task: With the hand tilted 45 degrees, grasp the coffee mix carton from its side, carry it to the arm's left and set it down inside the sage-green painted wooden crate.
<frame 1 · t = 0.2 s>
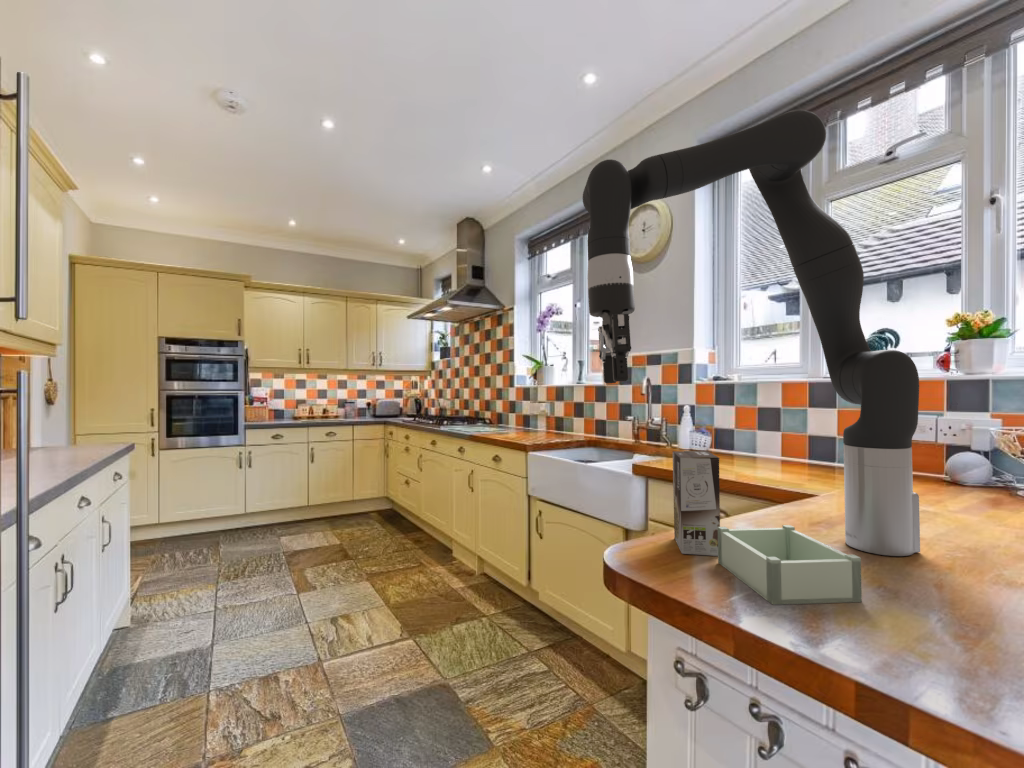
hand: (615, 382, 80), 29 cm above the table, tool pointing down, fingers open, 8 cm apart
crate: (782, 580, 68), on the table
coffee box: (696, 547, 83), on the table
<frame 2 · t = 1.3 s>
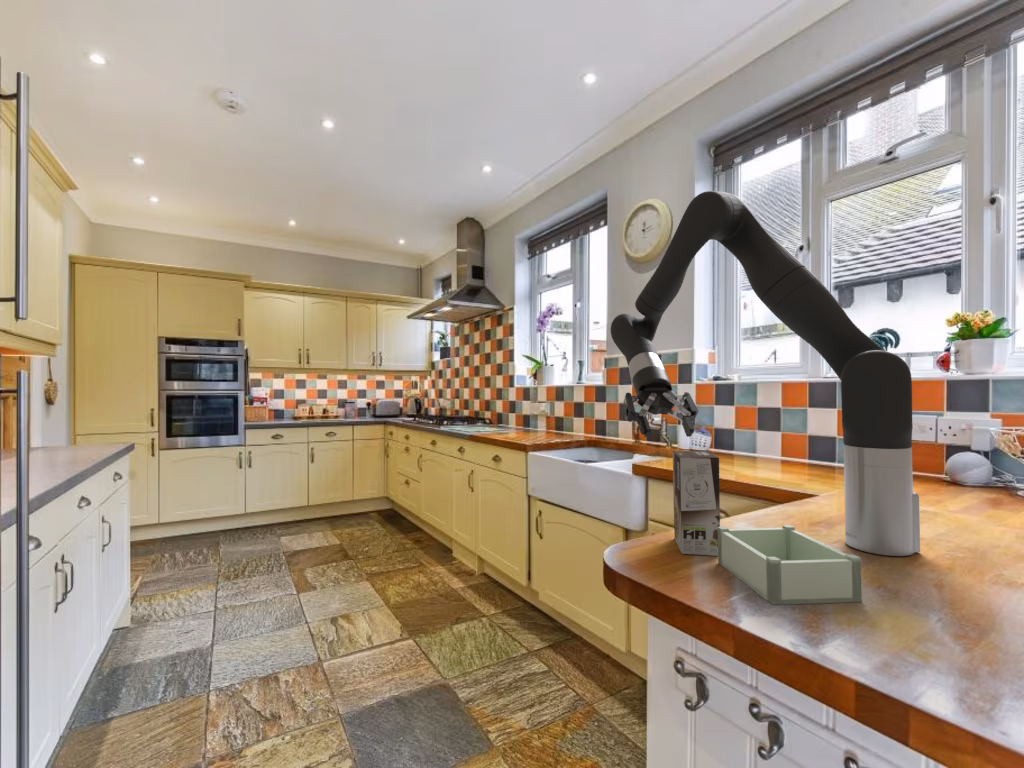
hand: (669, 434, 94), 18 cm above the table, tool tilted 45°, fingers open, 8 cm apart
nothing on the table moved.
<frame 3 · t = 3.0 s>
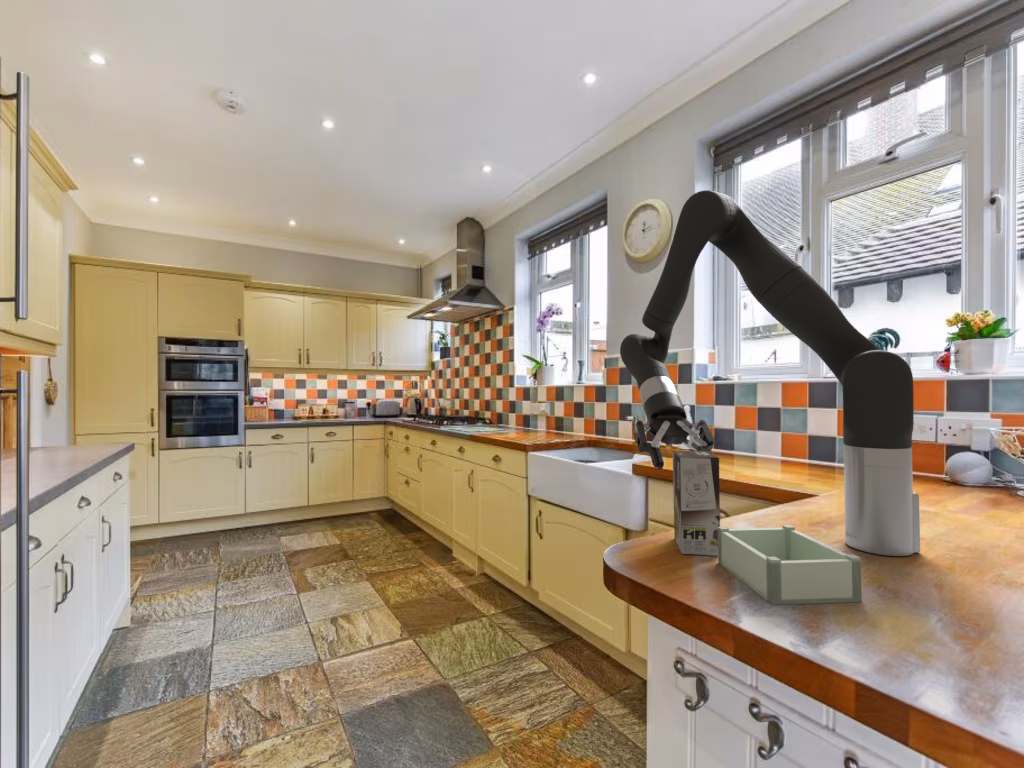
hand: (684, 467, 87), 13 cm above the table, tool tilted 45°, fingers open, 8 cm apart
nothing on the table moved.
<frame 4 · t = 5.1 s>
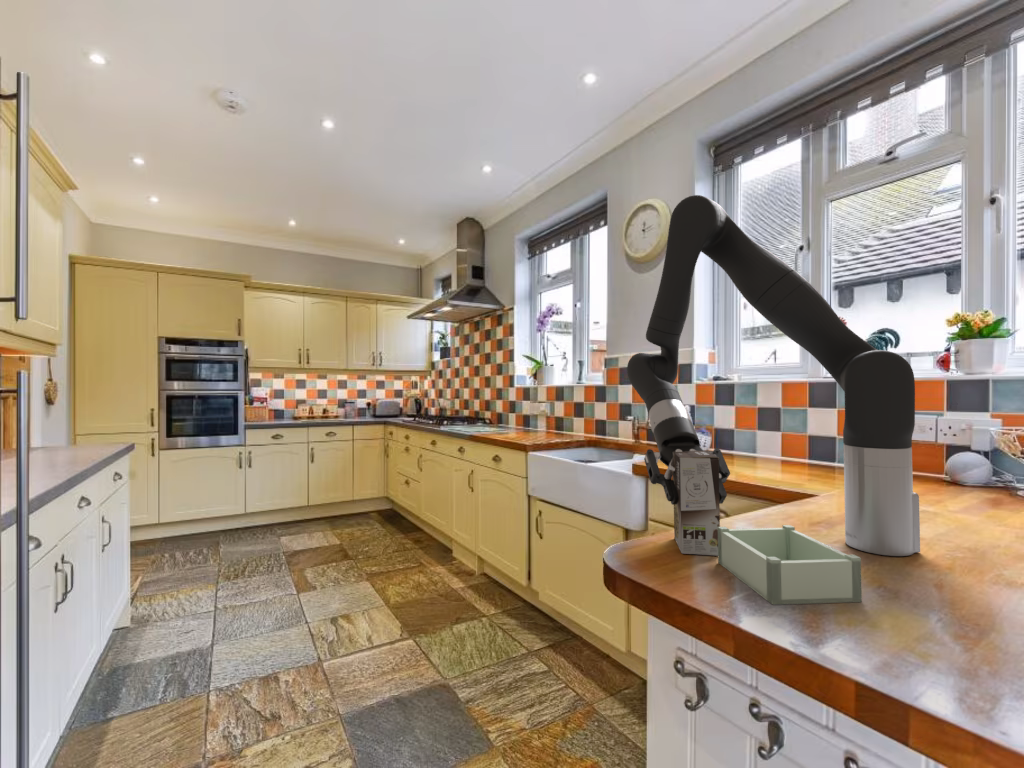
hand: (698, 501, 81), 8 cm above the table, tool tilted 45°, fingers closed on coffee box, 7 cm apart
coffee box: (696, 547, 83), on the table, touching gripper
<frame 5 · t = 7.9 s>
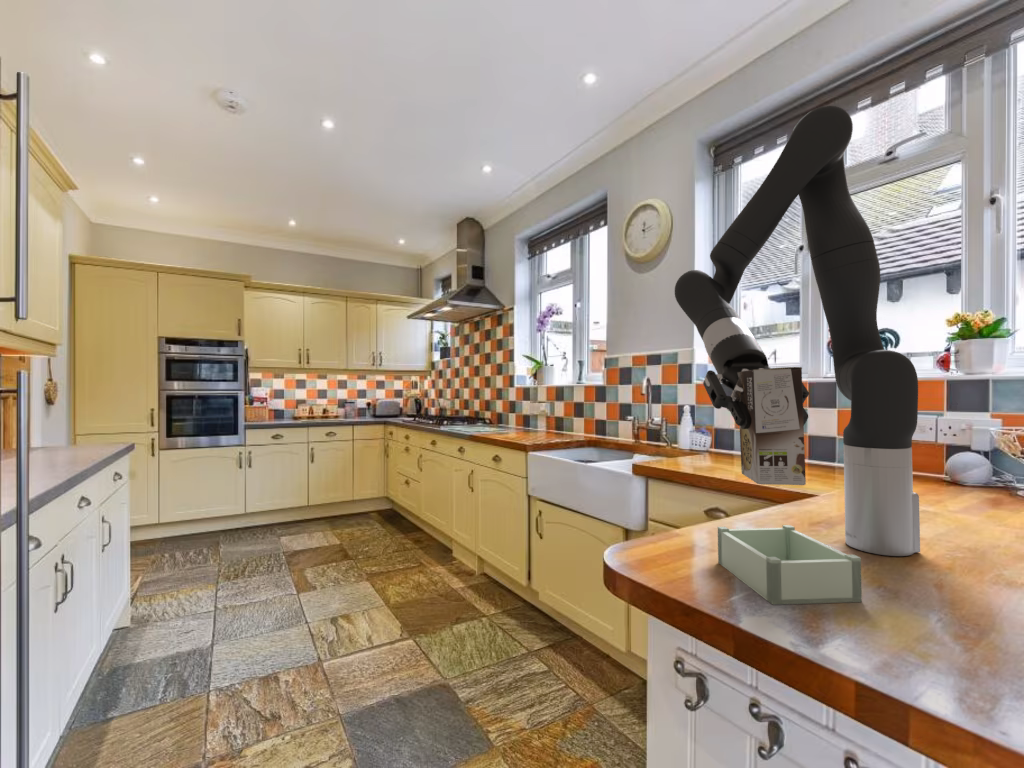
hand: (775, 424, 68), 22 cm above the table, tool tilted 45°, fingers closed on coffee box, 7 cm apart
coffee box: (771, 480, 70), point 14 cm above the table, touching gripper
when the fingers open (9 cm above the table, at t = 11.2 s): coffee box stays where it is, resting on crate.
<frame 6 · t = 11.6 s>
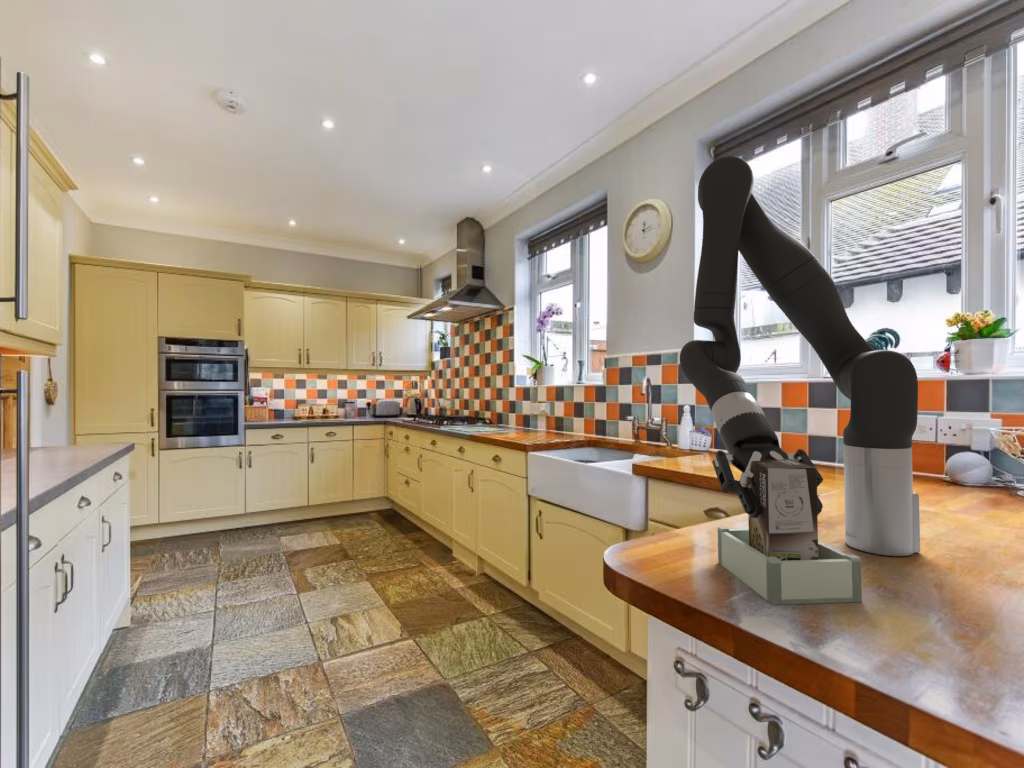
hand: (786, 514, 67), 10 cm above the table, tool tilted 45°, fingers open, 8 cm apart
coffee box: (782, 577, 68), resting on crate
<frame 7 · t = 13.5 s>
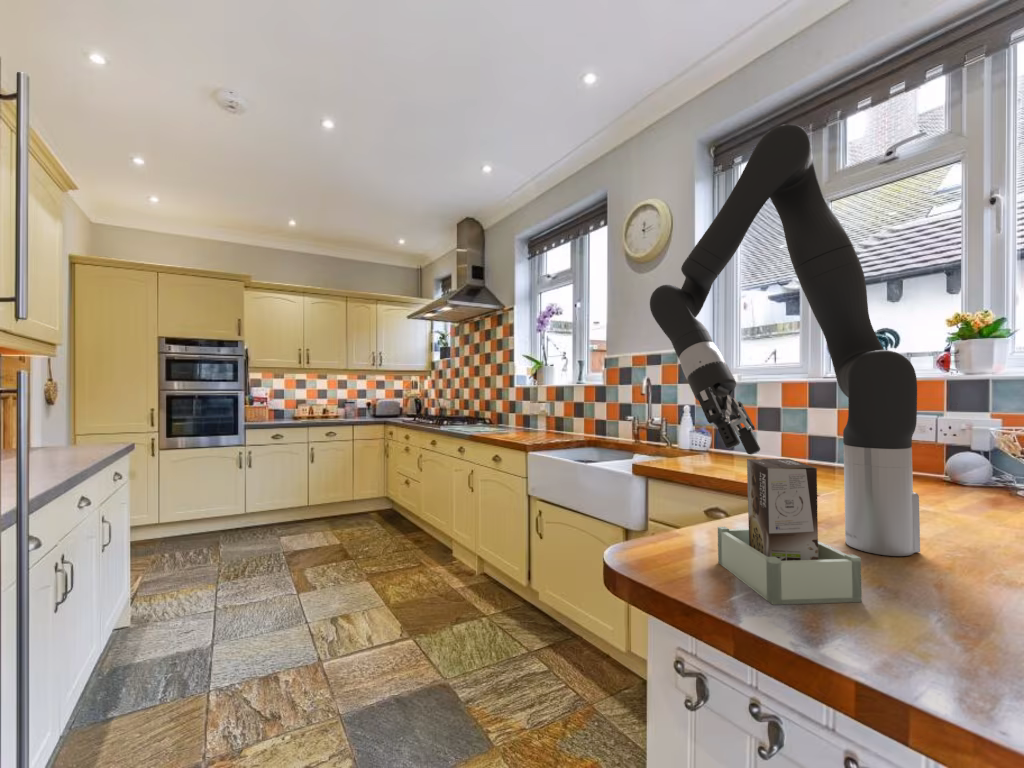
hand: (744, 449, 82), 17 cm above the table, tool tilted 30°, fingers open, 8 cm apart
nothing on the table moved.
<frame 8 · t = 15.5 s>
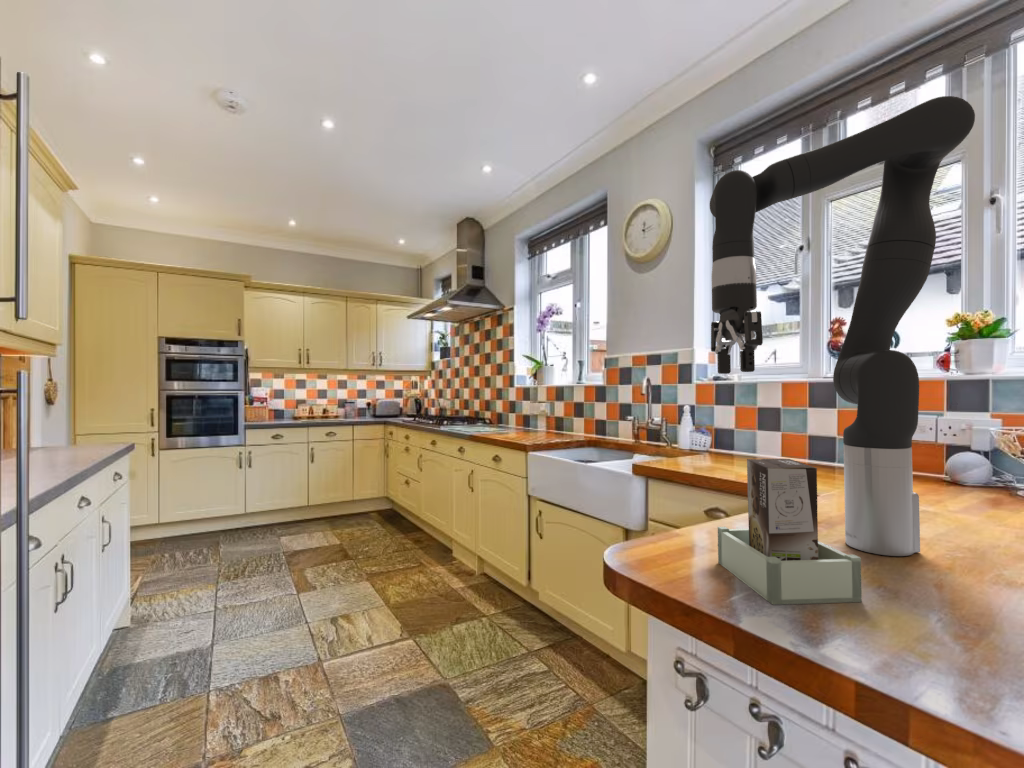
hand: (735, 372, 88), 30 cm above the table, tool pointing down, fingers open, 8 cm apart
nothing on the table moved.
at the end: coffee box inside the target area on the crate (0.1 cm from its centre), point 0.4 cm above the crate's base; coffee box tilted 0°; the gripper is holding nothing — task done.
